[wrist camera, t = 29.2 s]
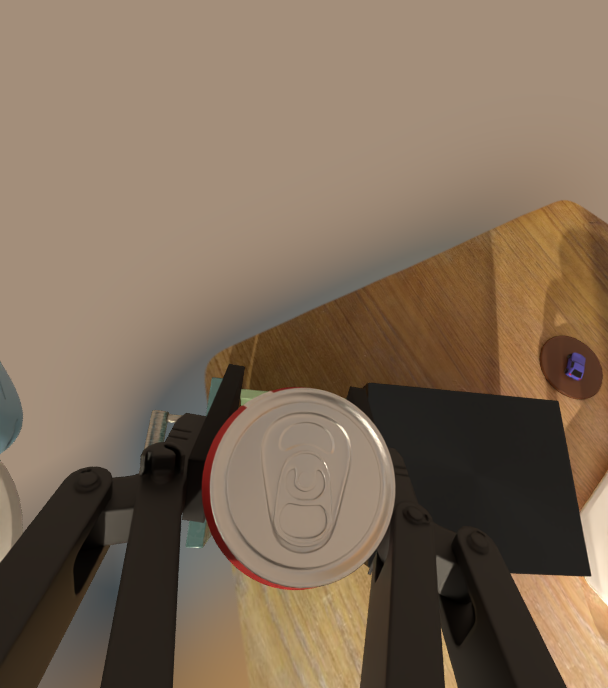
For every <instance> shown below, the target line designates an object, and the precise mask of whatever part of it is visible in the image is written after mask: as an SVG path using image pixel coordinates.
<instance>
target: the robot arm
mask: <svg viewBox="0 0 608 688" xmlns="http://www.w3.org/2000/svg"><path fill="white" fill-rule="evenodd" d="M244 370H245V367H244V366H239V365H233V364H229V366H228V368H227V370H226V373H225V375H224V377H223V379H222V382H221V384H220V386H219V389H218V391H217V393H216V396H215V398H214V400H213V403H212V405H211V407H210V410H209V412H208V414H207V416H201V415H196V414H190V413H186V414H184V415H183V416H181V417H180V418H178V419H177V421H176V422H175V424H174V426H173V428H172V430H171V432H170V433H169V435H168V437H167V439H166V441H165V442H158V443H155V444H152V445H150V446H148V447H147V448H146V449H145V450H143V452H142V454H141V463H140V473H139V474H136V475H132V476H126V477H115V478H112V475H111V473H110V472H109V471H108V470H107V469H104V468H101V467H87V468H83V469H79V470H77V471H75V472H73V473H71V474H70V475H69V476H68V477H67V478H66V479H65V480H64V481H63V483H62V484H61V485H60V487H59V488H58V489H57V490H56V492H55V493H54V494H53V496H52V497H51V498H50V499H49V501H48V502H47V503H46V505H45V506H44V507H43V509H42V510H41V511H40V512H39V514H38V515H37V516H36V517H35V519H34V520H33V521H32V522H31V524H30V525H29V526H28V528H27V529H26V530H25V532H24V533H23V534H22V535H21V537H20V538H19V539H18V540H17V542H16V543H15V544H14V546H13V547H12V548H11V549H10V551H9V552H8V553H7V555H6V556H5V557H4V558H3V560H2V561H1V562H0V688H37V687H38V685H39V683H40V681H41V679H42V677H43V675H44V673H45V671H46V669H47V667H48V665H49V663H50V661H51V660H52V657H53V656H54V654H55V652H56V650H57V648H58V646H59V644H60V642H61V640H62V638H63V636H64V634H65V632H66V630H67V628H68V627H69V625H70V623H71V621H72V619H73V617H74V615H75V613H76V611H77V609H78V607H79V605H80V603H81V601H82V599H83V597H84V595H85V594H86V592H87V590H88V587H89V586H90V584H91V582H92V580H93V578H94V576H95V574H96V572H97V570H98V568H99V566H100V564H101V562H102V560H103V559H104V557H105V555H106V553H107V551H108V549H109V547H110V545H114V544H121V543H127V542H128V543H127V548H126V553H125V559H124V564H123V569H122V575H121V580H120V586H119V591H118V596H117V601H116V607H115V612H114V617H113V623H112V629H111V633H110V639H109V644H108V650H107V655H106V660H105V666H104V671H103V676H102V682H101V687H100V688H173V669H174V649H175V631H176V611H177V591H178V571H179V552H180V532H181V515H182V512H183V516H182V520H188V521H194V522H201V523H204V522H205V518H206V517H205V514H204V508H203V502H202V477H203V470H204V465H205V461H206V458H207V454H208V452H209V449H210V447H211V444H212V442H213V440H214V438H215V436H216V435H217V433H218V431H219V430H220V428H221V427H222V426H223V424H224V423H225V422H226V420H227V419H228V418H229V417H230V416H231V415H232V414H233V413H234V412H235V411H236V410H237V409H238V407H239V401H240V395H241V388H242V382H243V376H244ZM346 400H348V401H349V402H351V403H352V404H354V405H355V406H357V407H358V408H359V409H360V410H361V411H362V412H364V413H365V414H366V415H367V416H368V418H369V419H370V420H371V421H372V422H373V423H374V419H373V416H372V412H371V408H370V405H369V401H368V397H367V394H366V390H365V389H361V388H356V387H351V386H350V389H349V392H348V396H347V399H346ZM22 419H23V412H22V407H21V402H20V399H19V396H18V394H17V392H16V389H15V387H14V385H13V383H12V381H11V379H10V377H9V375H8V374H7V372H6V370H5V368H4V367H3V365H2V364H1V362H0V454H1V453H2V452H3V451H5V450H6V449H7V448H9V446H10V445H11V444H12V443H13V442H14V441H15V439H16V438H17V436H18V435H19V433H20V430H21V427H22V421H23V420H22ZM374 425H375V423H374ZM387 448H388V447H387ZM388 450H389V453H390V456H391V460H392V464H393V468H394V474H395V501H394V508H393V513H392V516H391V520H390V523H389V526H388V528H387V531H386V533H385V535H384V537H383V539H382V541H381V542H380V544H379V545H378V547H377V549H378V550H377V552H376V555H375V557H374V559H373V562H372V564H371V566H370V569H369V572H368V574H369V575H371V573H372V580H371V590H370V599H369V608H368V618H367V627H366V637H365V646H364V655H363V665H362V674H361V683H360V688H445V681H444V666H443V652H442V638H441V628H442V632H443V636H444V639H445V643H446V646H447V650H448V653H449V657H450V661H451V664H452V668H453V671H454V675H455V679H456V682H457V686H458V688H567V687H566V685H565V683H564V681H563V679H562V677H561V675H560V673H559V671H558V669H557V667H556V665H555V663H554V661H553V659H552V657H551V655H550V653H549V651H548V649H547V647H546V645H545V643H544V641H543V639H542V637H541V635H540V632H539V630H538V628H537V626H536V624H535V622H534V620H533V618H532V616H531V614H530V612H529V610H528V608H527V606H526V604H525V602H524V600H523V598H522V596H521V594H520V592H519V590H518V588H517V586H516V584H515V582H514V580H513V578H512V576H511V574H510V572H509V570H508V568H507V566H506V564H505V562H504V560H503V558H502V556H501V554H500V552H499V550H498V548H497V546H496V545H495V543H494V542H493V540H492V539H491V538H490V537H489V536H488V535H487V534H486V533H484V532H482V531H481V530H479V529H477V528H474V527H471V526H463V527H461V528H459V530H458V532H457V533H455V532H453V531H451V530H449V529H446V528H444V527H442V526H440V525H438V524H436V523H434V522H433V520H432V517H431V515H430V514H429V512H428V511H427V510H426V509H425V508H423V507H422V506H421V505H419V504H418V501H417V498H416V495H415V492H414V489H413V486H412V483H411V480H410V477H409V475H408V472H407V469H406V466H405V463H404V460H403V458H402V456H401V455H400V454H399V453H398V452H397V450H396V449H393V448H388Z"/></svg>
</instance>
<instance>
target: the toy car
mask: <svg viewBox="0 0 608 688" xmlns="http://www.w3.org/2000/svg"><path fill="white" fill-rule="evenodd" d="M540 365H541V369H542V372H543V374H544V376H545V378H546V379H547V381H548V382H549V383H550V384H551V385H552V386H553V387H554V388H555V389H556V390H557V391H559V392H560V393H562V394H564V395H566V396H568V397H570V398H574V399H586V398H589V397H592V396H594V395H595V394H596V393H597V392H598V391H599V389H600V387H601V384H602V378H603V374H602V368H601V365H600V362H599V360H598V358H597V357H596V355H595V354H594V353H593V351H592V350H591V349H590V348H589V347H588V346H587V345H585V344H584V343H582V342H581V341H579V340H577V339H575V338H572V337H569V336H556V337H553V338H551V339H549V340H548V341H547V342H546V343H545V344H544V345H543V347H542V350H541V353H540Z"/></svg>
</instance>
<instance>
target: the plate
mask: <svg viewBox="0 0 608 688" xmlns="http://www.w3.org/2000/svg"><path fill="white" fill-rule="evenodd" d="M580 517H581V523H582V528H583V533H584V539H585V544H586V549H587V554H588V560H589V565H590V570H591V577H587V576H584V578H585V580H586V582H587V584H588V585H589V586H590V587H591V588H592V589H593V590H594V592H595V593H596V594H597V595H598V596H599V597H600V598H601V599H602V600H603V601H604V602H605V603H606V604H607V605H608V471H607V472H606V474H605V475H604V477H603V478H602V480H601V481H600V482H599V484H598V485H597V487H596V488H595V490H594V491H593V493H592V494H591V496H590V497H589V499H588V500H587V502H586V503H585V505H584V506H583V508H582V509H581V511H580Z"/></svg>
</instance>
